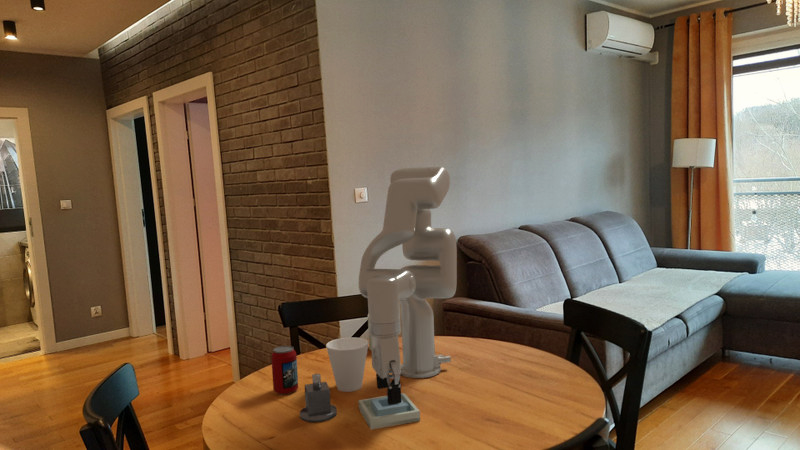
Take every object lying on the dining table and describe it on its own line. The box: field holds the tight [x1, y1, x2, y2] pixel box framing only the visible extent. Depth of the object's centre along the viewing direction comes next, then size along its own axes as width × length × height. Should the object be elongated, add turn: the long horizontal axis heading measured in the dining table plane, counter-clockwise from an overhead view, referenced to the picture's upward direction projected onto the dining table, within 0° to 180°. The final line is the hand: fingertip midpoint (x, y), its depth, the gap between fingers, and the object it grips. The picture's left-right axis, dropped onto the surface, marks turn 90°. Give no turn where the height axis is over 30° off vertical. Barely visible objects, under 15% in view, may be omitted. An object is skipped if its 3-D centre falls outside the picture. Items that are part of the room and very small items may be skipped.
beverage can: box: [271, 345, 299, 396], centre depth 152 cm, size 7×7×12 cm
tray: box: [358, 392, 421, 430], centre depth 134 cm, size 12×12×2 cm
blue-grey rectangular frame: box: [371, 396, 410, 417], centre depth 134 cm, size 7×9×2 cm
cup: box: [325, 337, 369, 393], centre depth 153 cm, size 12×12×12 cm
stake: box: [299, 373, 338, 424], centre depth 136 cm, size 9×9×10 cm
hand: (388, 395), depth 135 cm, fingers open, 9 cm apart
